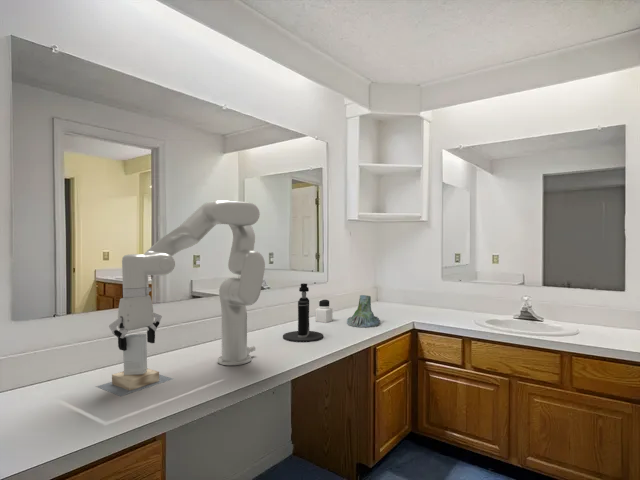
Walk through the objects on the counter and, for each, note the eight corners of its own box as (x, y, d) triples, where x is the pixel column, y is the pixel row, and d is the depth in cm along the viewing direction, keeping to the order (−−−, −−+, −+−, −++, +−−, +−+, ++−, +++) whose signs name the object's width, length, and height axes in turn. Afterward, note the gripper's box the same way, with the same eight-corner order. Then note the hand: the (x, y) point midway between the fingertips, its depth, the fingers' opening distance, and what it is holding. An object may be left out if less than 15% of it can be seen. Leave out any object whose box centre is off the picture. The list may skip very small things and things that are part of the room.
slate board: (148, 373, 143) (148, 371, 143) (173, 381, 135) (173, 378, 135) (95, 389, 128) (95, 386, 128) (120, 398, 120) (120, 396, 120)
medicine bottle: (332, 320, 234) (332, 299, 234) (326, 322, 228) (326, 301, 228) (322, 319, 238) (321, 298, 238) (315, 321, 232) (315, 300, 232)
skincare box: (147, 370, 134) (147, 333, 134) (142, 375, 129) (142, 336, 129) (128, 371, 134) (128, 333, 133) (122, 375, 129) (122, 337, 129)
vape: (325, 333, 203) (324, 282, 203) (321, 342, 184) (321, 287, 184) (286, 332, 205) (286, 282, 205) (279, 341, 186) (279, 286, 186)
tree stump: (340, 326, 220) (341, 293, 224) (353, 328, 238) (354, 297, 242) (373, 328, 212) (374, 293, 217) (384, 330, 230) (385, 297, 234)
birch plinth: (141, 375, 139) (141, 366, 139) (159, 381, 133) (159, 371, 133) (112, 383, 130) (112, 374, 130) (129, 390, 125) (129, 380, 125)
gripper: (153, 288, 141) (154, 338, 141) (102, 295, 127) (104, 351, 127) (166, 290, 137) (168, 341, 137) (115, 297, 122) (117, 355, 123)
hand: (137, 346), depth 132 cm, fingers open, 9 cm apart
